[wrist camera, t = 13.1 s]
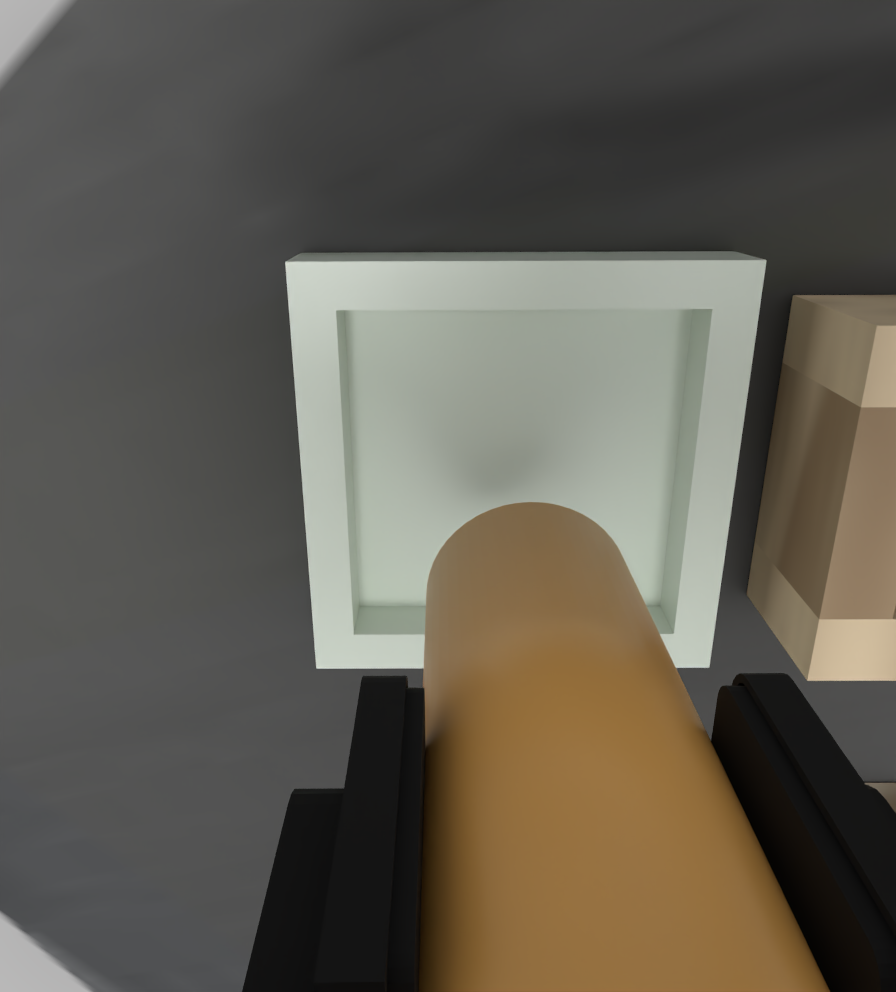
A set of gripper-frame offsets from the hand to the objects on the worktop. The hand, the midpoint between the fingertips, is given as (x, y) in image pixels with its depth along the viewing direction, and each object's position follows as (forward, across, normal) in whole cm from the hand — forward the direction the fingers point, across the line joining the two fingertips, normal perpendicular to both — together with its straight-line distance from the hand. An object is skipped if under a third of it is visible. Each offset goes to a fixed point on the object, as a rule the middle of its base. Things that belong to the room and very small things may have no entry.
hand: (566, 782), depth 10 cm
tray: (+12, 0, 0) cm, 12 cm away
